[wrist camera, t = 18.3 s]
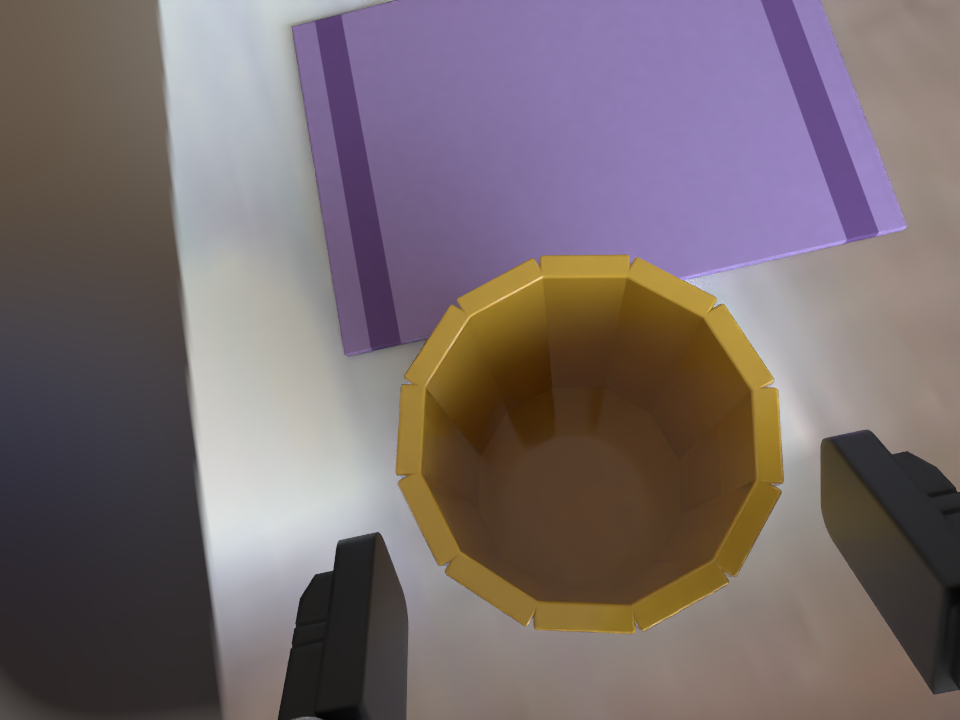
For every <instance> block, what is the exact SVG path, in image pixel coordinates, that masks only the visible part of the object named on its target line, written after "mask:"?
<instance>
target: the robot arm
mask: <svg viewBox="0 0 960 720" xmlns="http://www.w3.org/2000/svg"><path fill="white" fill-rule="evenodd" d="M821 509H822V515H823V519H824V522H825V525H826V528H827V530H828V533H829V535H830V537H831V538H832V540H833V542H834V543H835V545H836V546H837V548H838V549H839V551H840V552H841V554H842V555H843V557H844V559H845V560H846V562H847V563H848V565H849V566H850V568H851V569H852V571H853V572H854V574H855V575H856V577H857V578H858V580H859V581H860V583H861V584H862V586H863V587H864V589H865V591H866V592H867V594H868V595H869V597H870V598H871V600H872V601H873V603H874V604H875V606H876V607H877V609H878V610H879V612H880V613H881V615H882V616H883V618H884V619H885V621H886V623H887V624H888V626H889V627H890V629H891V630H892V632H893V633H894V635H895V636H896V638H897V639H898V641H899V642H900V644H901V645H902V647H903V648H904V650H905V652H906V653H907V655H908V656H909V658H910V659H911V661H912V662H913V664H914V665H915V667H916V668H917V670H918V671H919V673H920V674H921V676H922V677H923V679H924V680H925V682H926V684H927V685H928V687H929V688H930V690H931V691H932V693H933V694H939V693H944V692H949V691H955V690H960V492H957V491H956V488H955V486H954V485H953V484H952V483H951V482H950V481H949V480H948V479H947V478H946V477H945V476H944V475H943V474H942V473H941V471H940V470H939V469H938V468H937V467H935V466H934V465H932V464H930V463H928V462H926V461H924V460H922V459H921V458H919V457H917V456H915V455H913V454H911V453H909V452H908V451H907V452H902V453H897V454H891V453H890V452H889V451H888V450H887V448H886V447H885V446H884V445H883V444H882V443H881V442H880V440H879V439H878V438H877V437H876V436H875V435H874V434H873V433H872V432H871V431H869V430H862V431H857V432H852V433H847V434H843V435H838V436H833V437H829V438H825V439H823V440H822V443H821ZM407 658H408V614H407V607H406V602H405V597H404V593H403V590H402V587H401V585H400V582H399V579H398V577H397V574H396V571H395V569H394V566H393V563H392V561H391V558H390V555H389V553H388V550H387V547H386V545H385V542H384V540H383V537H382V535H381V534H380V533H379V532H376V533H371V534H366V535H362V536H357V537H352V538H347V539H343V540H339V541H338V544H337V548H336V555H335V562H334V569H333V571H330V572H325V573H320V574H316V575H315V576H314V577H313V579H312V580H311V582H310V584H309V585H308V587H307V588H306V590H305V591H304V593H303V595H302V596H301V598H300V601H299V607H298V612H297V618H296V628H295V629H294V634H293V639H292V648H291V650H290V656H289V661H288V667H287V672H286V678H285V683H284V688H283V694H282V699H281V705H280V710H279V716H278V720H406V700H407Z"/></svg>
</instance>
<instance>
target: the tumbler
mask: <svg viewBox="0 0 960 720" xmlns="http://www.w3.org/2000/svg"><path fill="white" fill-rule="evenodd" d="M716 301H717V298H716V297H715V296H713V295H711V294H709V293H707V292H705V291H703V290H701V289H699V288H697V287H695V286H693V285H691V284H689V283H687V282H686V281H684V280H682V279H680V278H678V277H676V276H674V275H672V274H670V273H668V272H666V271H664V270H662V269H660V268H658V267H657V266H655V265H653V264H651V263H649V262H647V261H645V260H643V259H641V258H639V257H636V258H634V260H633V262H632V263H631V265H630V257H629V255H627V254H624V255H542V256H540V263H539V265H538V263H537V262H536V260H535V259H534V258H531V259H529V260H527V261H525V262H523V263H521V264H520V265H518V266H516V267H514V268H512V269H510V270H508V271H507V272H505V273H503V274H501V275H499V276H497V277H496V278H494V279H492V280H490V281H488V282H486V283H485V284H483V285H481V286H479V287H477V288H475V289H473V290H472V291H470V292H468V293H466V294H464V295H462V296H461V297H459V298H458V299H457V303H458V305H459V308H458V307H457V306H455V305H450V306H449V307H448V309H447V310H446V312H445V314H444V315H443V317H442V318H441V320H440V321H439V323H438V324H437V326H436V327H435V329H434V331H433V332H432V334H431V335H430V337H429V338H428V340H427V341H426V343H425V344H424V346H423V348H422V349H421V351H420V352H419V354H418V355H417V357H416V358H415V360H414V361H413V363H412V365H411V366H410V368H409V369H408V371H407V372H406V374H405V375H404V379H405V380H406V381H407V382H408V383H409V384H403V385H401V389H400V405H399V421H398V438H397V454H396V471H395V472H396V475H398V476H400V477H402V479H401V480H399V481H398V486H399V488H400V490H401V492H402V494H403V496H404V498H405V500H406V502H407V504H408V506H409V508H410V510H411V512H412V514H413V516H414V518H415V520H416V522H417V524H418V526H419V528H420V530H421V532H422V534H423V536H424V538H425V540H426V542H427V544H428V546H429V548H430V550H431V552H432V554H433V556H434V558H435V560H436V562H437V564H438V565H439V566H447V568H446V569H445V573H446V575H448V576H449V577H451V578H452V579H454V580H455V581H457V582H458V583H460V584H461V585H463V586H464V587H466V588H468V589H469V590H471V591H472V592H474V593H475V594H477V595H478V596H480V597H481V598H483V599H484V600H486V601H487V602H489V603H490V604H492V605H493V606H495V607H496V608H498V609H499V610H501V611H502V612H504V613H505V614H507V615H508V616H510V617H512V618H513V619H515V620H516V621H518V622H519V623H521V624H522V625H524V626H527V625H529V623H530V622H531V620H532V619H533V618H534V629H536V630H550V631H572V632H595V633H617V634H634V633H635V625H636V626H637V627H638V628H639V629H641V630H642V631H646V630H648V629H650V628H652V627H653V626H655V625H657V624H659V623H660V622H662V621H664V620H666V619H668V618H669V617H671V616H673V615H675V614H677V613H678V612H680V611H682V610H684V609H685V608H687V607H689V606H691V605H693V604H694V603H696V602H698V601H700V600H702V599H703V598H705V597H707V596H709V595H710V594H712V593H714V592H716V591H718V590H719V589H721V588H723V587H725V586H727V585H728V584H729V580H728V578H727V576H728V577H736V576H737V575H738V573H739V571H740V569H741V567H742V566H743V564H744V562H745V560H746V558H747V556H748V554H749V553H750V551H751V549H752V547H753V545H754V543H755V541H756V540H757V538H758V536H759V534H760V532H761V530H762V528H763V527H764V525H765V523H766V521H767V519H768V517H769V515H770V514H771V512H772V510H773V508H774V506H775V504H776V502H777V501H778V499H779V497H780V495H781V490H780V489H778V488H777V487H775V486H777V485H780V484H782V483H783V482H784V475H783V459H782V443H781V427H780V411H779V395H778V389H777V388H771V387H769V386H770V385H771V384H772V383H773V382H774V378H773V376H772V375H771V373H770V372H769V370H768V369H767V367H766V366H765V364H764V363H763V361H762V360H761V358H760V357H759V355H758V354H757V352H756V351H755V350H754V348H753V347H752V345H751V344H750V342H749V341H748V339H747V338H746V336H745V335H744V333H743V332H742V330H741V329H740V327H739V326H738V324H737V323H736V321H735V320H734V318H733V317H732V315H731V314H730V312H729V311H728V309H727V308H726V306H725V305H724V304H720V305H718V306H716V307H714V305H715V303H716ZM713 307H714V308H713Z"/></svg>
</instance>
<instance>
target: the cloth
mask: <svg viewBox="0 0 960 720" xmlns="http://www.w3.org/2000/svg"><path fill="white" fill-rule="evenodd" d="M292 31H293V37H294V44H295V50H296V56H297V62H298V69H299V75H300V81H301V87H302V93H303V100H304V106H305V112H306V118H307V124H308V131H309V137H310V143H311V149H312V156H313V162H314V168H315V174H316V180H317V187H318V193H319V199H320V205H321V212H322V218H323V224H324V230H325V236H326V243H327V249H328V255H329V261H330V267H331V274H332V280H333V286H334V292H335V299H336V305H337V311H338V317H339V323H340V330H341V336H342V342H343V348H344V354H345V355H346V356H352V355H357V354H361V353H365V352H370V351H374V350H378V349H383V348H387V347H392V346H396V345H400V344H405V343H409V342H414V341H418V340H422V339H427V338H429V337H430V335H431V334H432V332H433V331H434V329H435V327H436V326H437V324H438V323H439V321H440V320H441V318H442V317H443V315H444V314H445V312H446V310H447V309H448V307H449V306H450V305H455V306H457V307H458V308H459V305H458V303H457V299H458V298H459V297H461V296H462V295H464V294H466V293H468V292H470V291H472V290H473V289H475V288H477V287H479V286H481V285H483V284H485V283H486V282H488V281H490V280H492V279H494V278H496V277H497V276H499V275H501V274H503V273H505V272H507V271H508V270H510V269H512V268H514V267H516V266H518V265H520V264H521V263H523V262H525V261H527V260H529V259H531V258H534V259H535V260H536V262H537V263H538V265H539V263H540V256H542V255H624V254H627V255H629V257H630V265H631V263H632V262H633V260H634V258H636V257H639V258H641V259H643V260H645V261H647V262H649V263H651V264H653V265H655V266H657V267H658V268H660V269H662V270H664V271H666V272H668V273H670V274H672V275H674V276H676V277H678V278H680V279H682V280H686V279H690V278H695V277H699V276H704V275H708V274H712V273H717V272H721V271H726V270H730V269H734V268H739V267H743V266H748V265H752V264H756V263H761V262H765V261H769V260H774V259H778V258H783V257H787V256H791V255H796V254H800V253H805V252H809V251H813V250H818V249H822V248H827V247H831V246H835V245H840V244H844V243H849V242H853V241H857V240H862V239H866V238H871V237H875V236H879V235H884V234H888V233H892V232H897V231H901V230H904V229H905V228H906V227H907V225H906V222H905V220H904V217H903V214H902V212H901V209H900V207H899V204H898V201H897V199H896V196H895V194H894V191H893V188H892V186H891V183H890V181H889V178H888V175H887V173H886V170H885V168H884V165H883V162H882V160H881V157H880V155H879V152H878V149H877V147H876V144H875V142H874V139H873V136H872V134H871V131H870V129H869V126H868V123H867V121H866V118H865V116H864V113H863V110H862V108H861V105H860V103H859V100H858V97H857V95H856V92H855V90H854V87H853V84H852V82H851V79H850V77H849V74H848V71H847V69H846V66H845V64H844V61H843V58H842V56H841V53H840V51H839V48H838V45H837V43H836V40H835V38H834V35H833V32H832V30H831V27H830V25H829V22H828V19H827V17H826V14H825V12H824V9H823V6H822V4H821V1H820V0H396V1H392V2H388V3H384V4H380V5H376V6H372V7H368V8H364V9H360V10H356V11H352V12H348V13H344V14H340V15H336V16H332V17H328V18H324V19H320V20H316V21H312V22H309V23H305V24H301V25H297V26H293V27H292Z"/></svg>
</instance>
